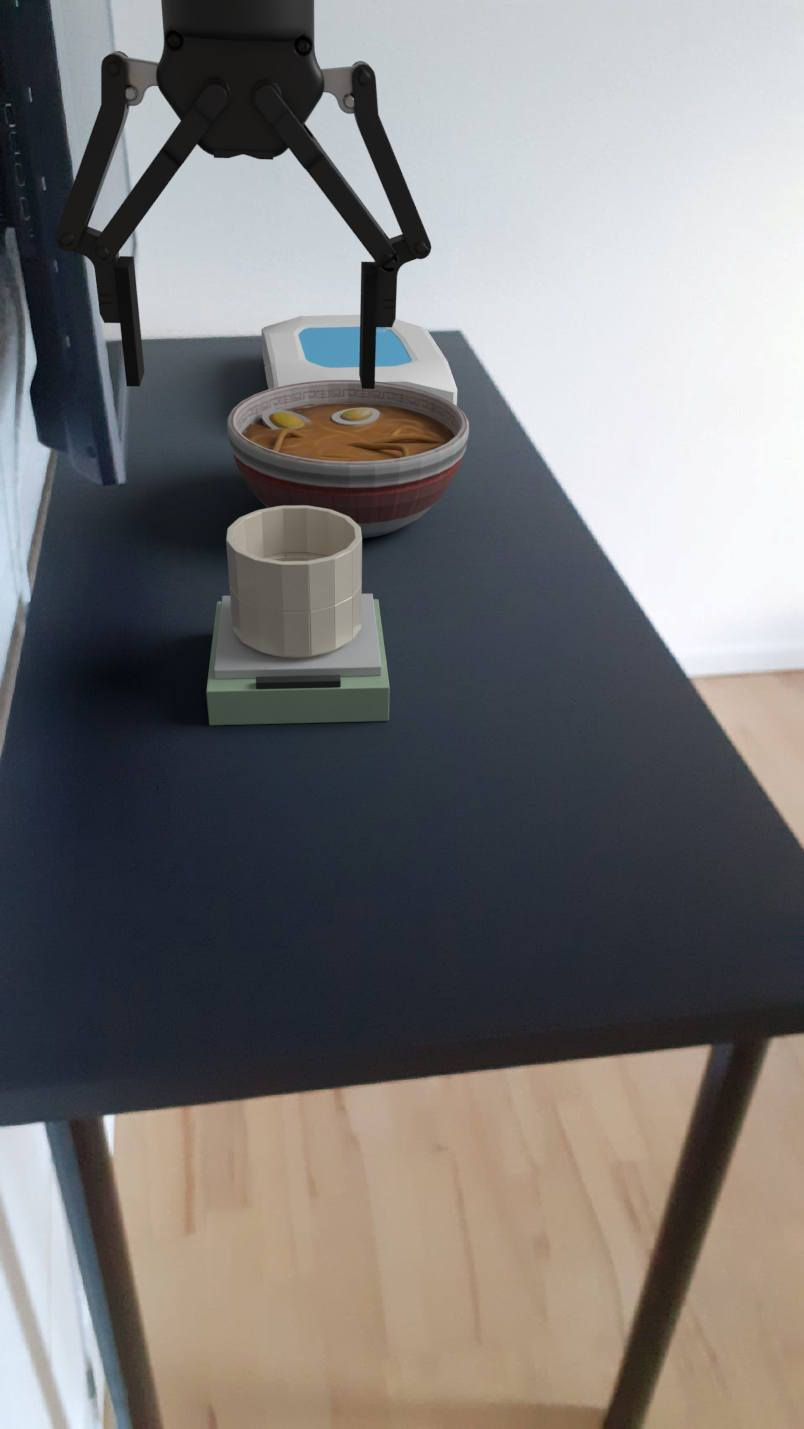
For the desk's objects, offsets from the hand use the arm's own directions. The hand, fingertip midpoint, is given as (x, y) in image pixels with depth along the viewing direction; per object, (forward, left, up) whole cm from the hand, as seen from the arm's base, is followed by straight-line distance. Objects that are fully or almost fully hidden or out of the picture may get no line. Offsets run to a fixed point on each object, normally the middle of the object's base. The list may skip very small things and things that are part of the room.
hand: (252, 381), depth 64 cm
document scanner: (+9, +71, -25) cm, 76 cm away
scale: (+2, +6, -25) cm, 26 cm away
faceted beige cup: (+2, +7, -21) cm, 22 cm away
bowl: (+7, +35, -25) cm, 44 cm away
